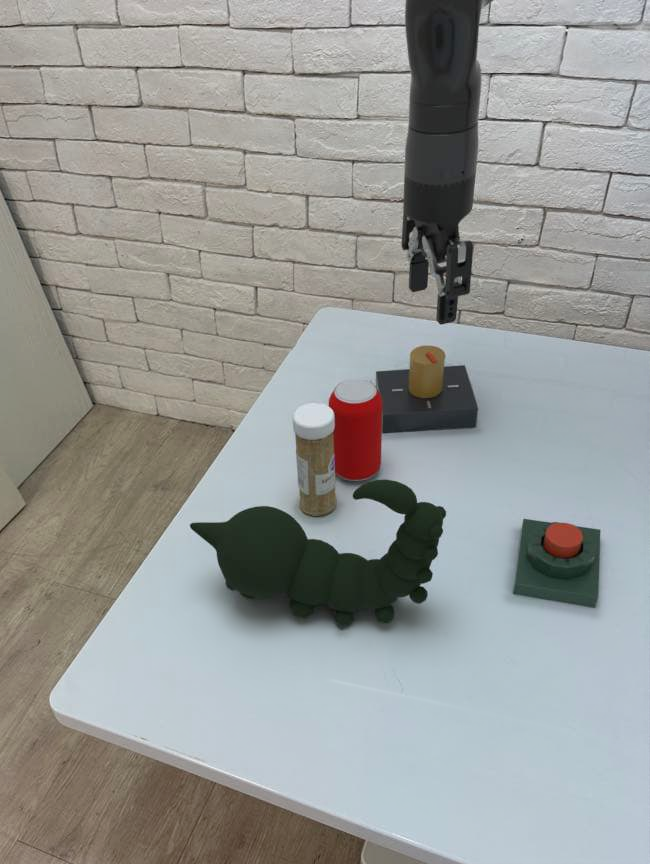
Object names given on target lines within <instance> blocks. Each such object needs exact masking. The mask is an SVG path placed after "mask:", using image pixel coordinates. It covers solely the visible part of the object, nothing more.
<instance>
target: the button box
mask: <svg viewBox="0 0 650 864" xmlns="http://www.w3.org/2000/svg"><path fill="white" fill-rule="evenodd" d="M555 523H560V521H559V522H558V521H553V522H550V521H543V520H536V519H529V518H523V519H522V524H521V528H520V529H521V530H520V536H519V544H518V550H517V551H518V552H517V559H516V567H515V575H514V582H513V591H512V594H513V595H517V596H523V597H528V598H535V599H541V600H546V601H553V602H559V603H562V604H563V603H564V604H570V605H576V606H582V607H586V608H587V607H589V608H596V606H597V603H598V598H599V587H600V586H599V584H600V557H601V529H600V528H593V527H585V526H578V525H575V524H572V523H571V524H572V525H574V526H576V527H577V528H578V529H579V530H580V531H581V532H582V534H583V540H582V544H581V547H580V551H579V553H578V554H577V555H575V556H574V557H571V558H558V557H555V556H552V555H551V554H549V553H548V552H547V551H546V550H545V548H544V545H543V542H544V538H545V534H546V530H547V528H548V527H549V526H550V525H552V524H555Z"/></svg>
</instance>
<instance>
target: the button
mask: <svg viewBox="0 0 650 864" xmlns="http://www.w3.org/2000/svg"><path fill="white" fill-rule="evenodd" d="M574 525H575V524H573V525H572V523H568V522H559V523H555V524H552V525H550V526H549V527H548V528H547V530H546V534H545V538H544V542H543V545H544V548H545V550H546V551H547V552H548V553H549V554H551V555H552V556H555V557H558V558H571V557H574V556H575V555H577V554H578V553H579V551H580V547H581V544H582V540H583V534H582V532H581V531H580V530H579V529H578V528H577V527H576V526H577V525H575V526H574Z"/></svg>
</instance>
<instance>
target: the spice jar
mask: <svg viewBox="0 0 650 864" xmlns="http://www.w3.org/2000/svg"><path fill="white" fill-rule="evenodd" d="M334 428H335V418H334V412H333V410H332V409H331V408H330V407H329V405H327V404H325V403H320V402H309V403H305V404H303V405H301V406H298V407H297V408H296V409H295V410H294V412H293V414H292V429H293V432H294V434H295V458H296V459H295V460H296V470H297V471H296V472H297V473H296V474H297V486H298V491H299V500H298V504H299V508H300V510H301V511H302V512H303V513H305V514H307V515H309V516H313V517H319V516H325V515H327V514H330V513H331V512H332V511H333V510H335V508H336V506H337V498H336V473H335V458H334V443H333V431H334Z"/></svg>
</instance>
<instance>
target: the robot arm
mask: <svg viewBox="0 0 650 864" xmlns="http://www.w3.org/2000/svg"><path fill="white" fill-rule="evenodd" d="M493 1H495V0H405V6H404V8H405V9H404V27H405V38H406V39H405V40H406V47H407V56H408V57H407V58H408V64H409V70H410V85H409V97H408V98H409V99H408V104H409V105H408V127H407V135H406V140H405V150H404V174H403V175H404V176H403V205H402V206H403V207H402V208H403V209H402V211H403V213H402V230H401V249H402V251H407V252H406V259H407V261H408V262H409V271H408V289H409V290H410V291H411V293H416V292H420V291H421V292H422V291H425V290H426V289H427V288H428V285H429V284H428V283H429V273H430V276H431V277H433V278H434V279H435V281H436V287H437V300H436V301H437V303H436V316H435V320H436V322H437V323H438V324H439V325H442V326H443V325H445V324H451V323H453V322H454V323H455V321H456V320H457V316H458V315H457V314H458V302H459V297H461V296H465V295H469V294H470V293H471V280H472V267H473V266H472V265H473V253H474V245H473V242H472V240H466V241H462V240H461V237H460V229H459V228H460V227H459V224H460V222H461V221H462V220H463V219H464V218H466V217H467V216H468V215H469V214H470V213H471V211H472V210H473V206H474V196H475V187H476V175H477V164H478V157H479V156H478V155H479V117H480V106H481V96H482V81H483V80H482V68H481V64H480V62H479V60H478V46H479V30H480V22H481V13H482V10H483V9H484V8H485V7H487V6H488V5H490V4H491V3H492V2H493ZM411 233H412V234H411ZM410 235H411V237H410ZM443 263H446V265H444V266H440V265H439V264H443ZM444 275H445V277H444Z"/></svg>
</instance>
